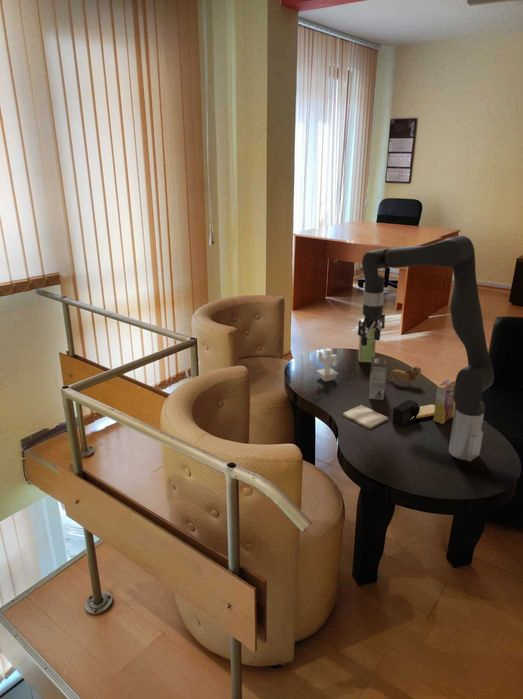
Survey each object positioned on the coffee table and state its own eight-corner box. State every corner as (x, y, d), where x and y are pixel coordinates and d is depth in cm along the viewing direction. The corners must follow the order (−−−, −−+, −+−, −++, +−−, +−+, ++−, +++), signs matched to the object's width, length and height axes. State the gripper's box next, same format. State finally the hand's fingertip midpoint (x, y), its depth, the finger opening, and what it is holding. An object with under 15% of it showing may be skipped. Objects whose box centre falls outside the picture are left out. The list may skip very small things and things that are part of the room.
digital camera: (404, 428, 192) (405, 412, 189) (391, 423, 195) (393, 407, 193) (419, 419, 198) (421, 403, 195) (407, 414, 202) (408, 399, 199)
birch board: (388, 419, 198) (388, 417, 197) (369, 429, 191) (370, 427, 191) (360, 406, 208) (361, 404, 207) (342, 415, 201) (342, 413, 201)
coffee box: (368, 389, 223) (371, 356, 217) (383, 390, 221) (386, 357, 215) (368, 399, 214) (371, 364, 208) (384, 400, 213) (387, 365, 207)
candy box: (443, 412, 203) (448, 378, 197) (453, 416, 200) (458, 381, 194) (432, 420, 197) (436, 385, 191) (442, 424, 194) (447, 389, 188)
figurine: (339, 380, 232) (341, 350, 226) (321, 383, 228) (323, 353, 223) (331, 374, 238) (333, 344, 232) (314, 377, 234) (315, 348, 229)
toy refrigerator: (358, 362, 250) (360, 322, 242) (357, 356, 257) (360, 317, 249) (374, 363, 249) (377, 323, 241) (373, 357, 256) (376, 318, 248)
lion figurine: (418, 382, 228) (421, 364, 225) (420, 388, 223) (422, 369, 220) (385, 380, 231) (387, 362, 228) (386, 385, 226) (387, 367, 223)
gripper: (370, 308, 184) (367, 349, 190) (392, 300, 193) (389, 340, 199) (353, 304, 189) (351, 344, 195) (375, 297, 198) (373, 335, 204)
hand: (370, 342), depth 197 cm, fingers open, 8 cm apart
